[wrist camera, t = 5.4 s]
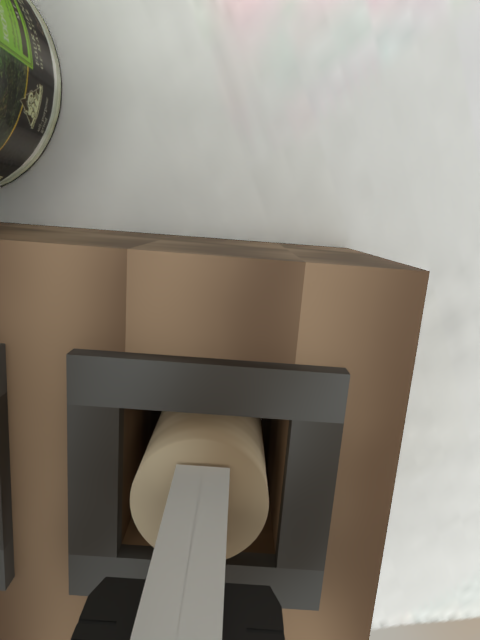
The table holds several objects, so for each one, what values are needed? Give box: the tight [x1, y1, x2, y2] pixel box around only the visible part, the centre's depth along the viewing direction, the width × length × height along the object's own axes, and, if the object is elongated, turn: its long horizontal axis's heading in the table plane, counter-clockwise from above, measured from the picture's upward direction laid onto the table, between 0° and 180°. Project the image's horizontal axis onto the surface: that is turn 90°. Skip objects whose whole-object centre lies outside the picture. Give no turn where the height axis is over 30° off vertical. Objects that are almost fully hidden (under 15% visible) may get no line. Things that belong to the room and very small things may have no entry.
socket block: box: [0, 222, 430, 640], centre depth 19 cm, size 22×14×11 cm, turn 86°
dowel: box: [130, 411, 269, 559], centre depth 17 cm, size 4×4×9 cm
